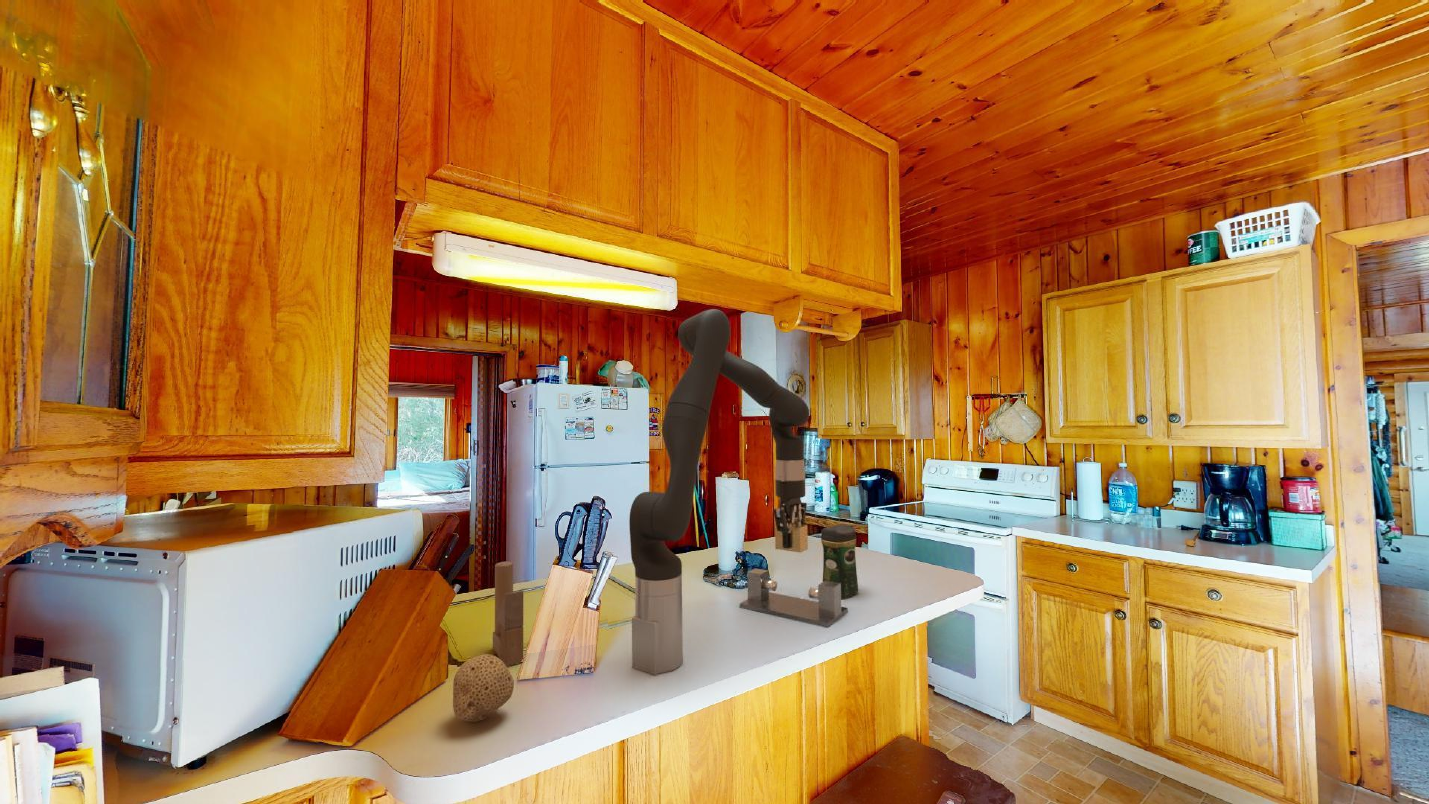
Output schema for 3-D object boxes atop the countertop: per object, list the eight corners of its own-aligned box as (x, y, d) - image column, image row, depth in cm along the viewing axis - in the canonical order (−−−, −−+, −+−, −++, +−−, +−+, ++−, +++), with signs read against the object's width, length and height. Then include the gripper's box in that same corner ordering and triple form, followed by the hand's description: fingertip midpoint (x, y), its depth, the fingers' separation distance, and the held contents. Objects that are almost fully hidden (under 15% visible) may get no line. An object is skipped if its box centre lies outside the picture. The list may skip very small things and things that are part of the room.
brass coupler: (800, 552, 130) (800, 527, 130) (775, 548, 134) (775, 524, 134) (807, 549, 133) (807, 525, 133) (783, 545, 137) (782, 522, 137)
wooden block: (504, 668, 103) (504, 574, 104) (492, 649, 112) (492, 562, 112) (524, 662, 105) (524, 571, 106) (510, 644, 114) (510, 560, 115)
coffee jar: (839, 587, 151) (837, 521, 151) (862, 593, 145) (861, 525, 145) (817, 594, 144) (815, 525, 145) (841, 601, 138) (839, 529, 139)
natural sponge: (519, 702, 90) (519, 642, 90) (506, 732, 81) (506, 666, 82) (462, 707, 89) (462, 646, 89) (443, 738, 80) (443, 671, 80)
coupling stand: (827, 627, 121) (827, 592, 121) (739, 607, 135) (739, 575, 135) (847, 612, 131) (847, 579, 131) (763, 594, 145) (763, 565, 145)
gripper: (790, 474, 142) (791, 539, 141) (762, 479, 131) (764, 550, 130) (815, 475, 138) (817, 542, 137) (790, 481, 126) (791, 554, 126)
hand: (791, 545), depth 133 cm, fingers closed on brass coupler, 4 cm apart
